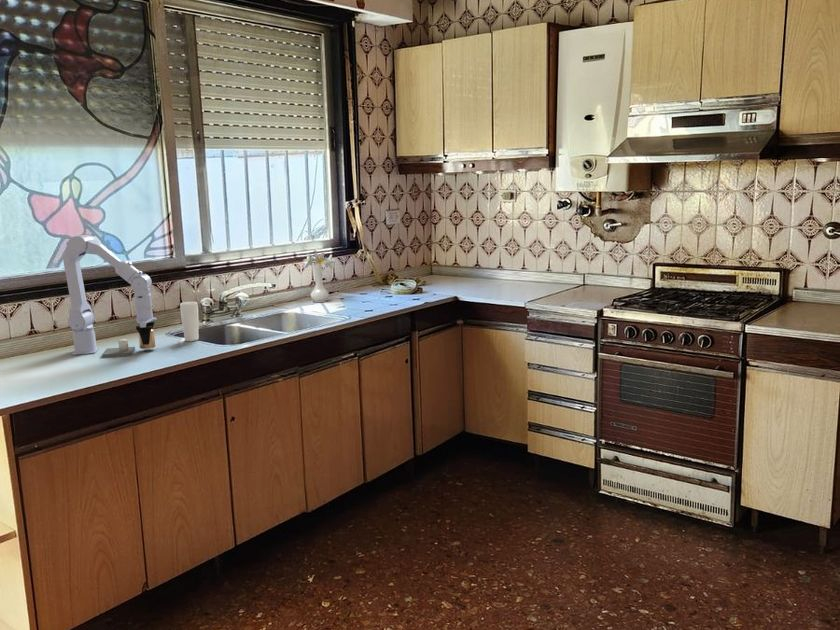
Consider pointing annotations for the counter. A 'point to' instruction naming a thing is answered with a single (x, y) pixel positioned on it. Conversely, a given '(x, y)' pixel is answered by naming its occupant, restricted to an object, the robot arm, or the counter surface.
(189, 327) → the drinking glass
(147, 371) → the counter surface
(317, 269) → the flower vase
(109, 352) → the base
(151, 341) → the copper topped wooden cylinder
